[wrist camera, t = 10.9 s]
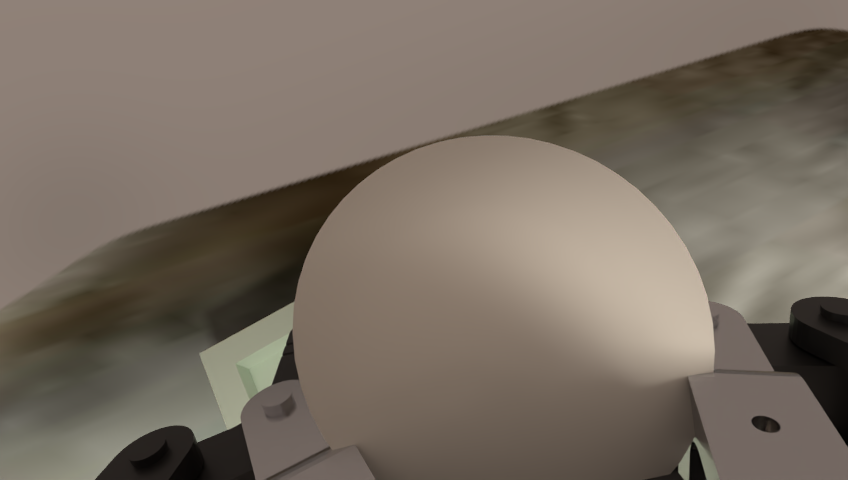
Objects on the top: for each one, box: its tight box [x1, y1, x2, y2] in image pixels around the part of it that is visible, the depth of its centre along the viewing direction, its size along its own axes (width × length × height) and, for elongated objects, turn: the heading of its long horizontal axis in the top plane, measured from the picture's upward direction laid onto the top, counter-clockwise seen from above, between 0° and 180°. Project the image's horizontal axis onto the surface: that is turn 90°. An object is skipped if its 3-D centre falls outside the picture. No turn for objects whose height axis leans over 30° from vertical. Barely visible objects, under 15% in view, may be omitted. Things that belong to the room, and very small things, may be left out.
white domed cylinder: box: [293, 135, 715, 480], centre depth 11 cm, size 6×6×10 cm
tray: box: [199, 301, 295, 430], centre depth 20 cm, size 17×15×2 cm
